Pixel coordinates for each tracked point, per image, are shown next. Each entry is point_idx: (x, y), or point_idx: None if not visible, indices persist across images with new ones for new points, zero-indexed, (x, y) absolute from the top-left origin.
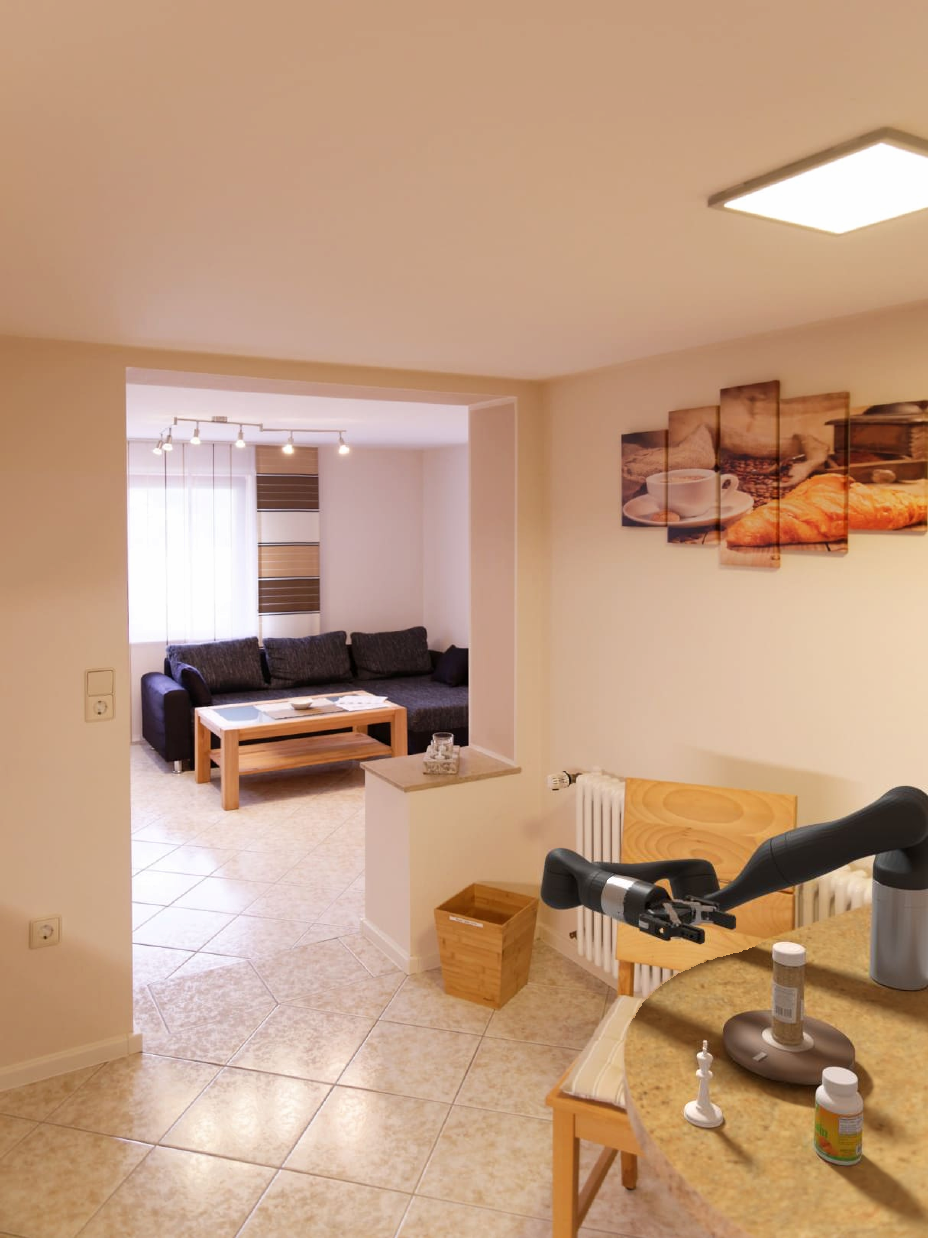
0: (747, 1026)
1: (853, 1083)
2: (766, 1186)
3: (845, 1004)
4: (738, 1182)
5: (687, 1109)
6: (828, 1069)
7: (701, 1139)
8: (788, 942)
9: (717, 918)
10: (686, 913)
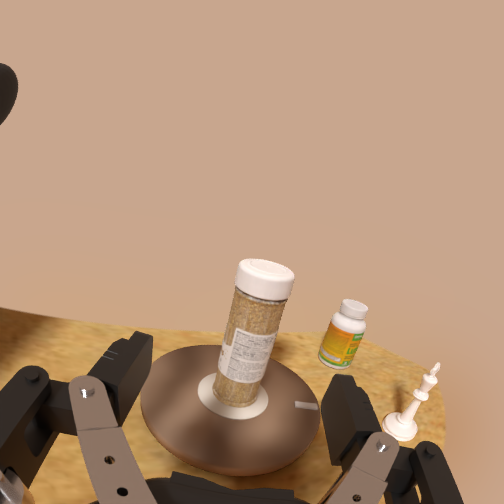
0: (238, 439)
1: (354, 300)
2: (402, 375)
3: (29, 361)
4: (416, 384)
5: (415, 429)
6: (357, 308)
7: (416, 414)
8: (247, 266)
9: (128, 393)
10: (223, 487)
